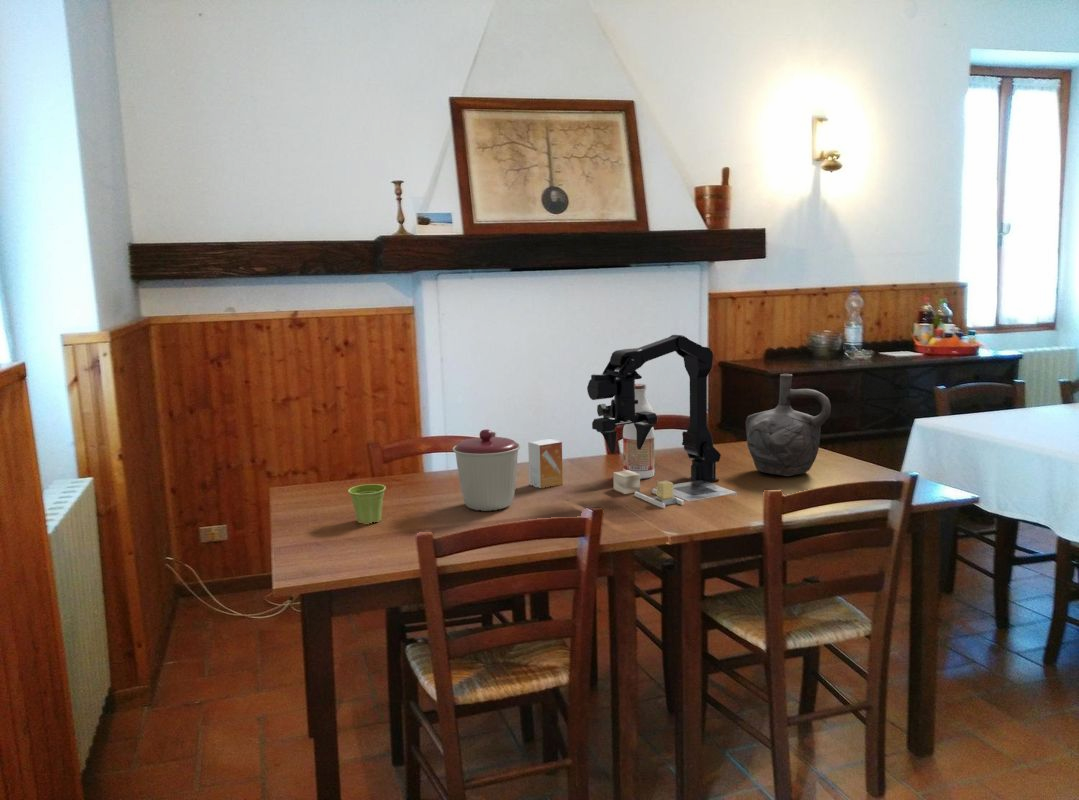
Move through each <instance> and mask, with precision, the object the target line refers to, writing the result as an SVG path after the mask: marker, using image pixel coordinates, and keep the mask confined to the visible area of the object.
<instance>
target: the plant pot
mask: <svg viewBox="0 0 1079 800" xmlns="http://www.w3.org/2000/svg"><path fill="white" fill-rule="evenodd" d="M386 489H387V487H386V486H385V485H384V484H378V483H369V484H360V485H355V486H352V487H350V488H349V489H348V490H347V491H348V492H347V493H349V494H350V498H351V500H352V501H351V502H352V505H353V510H354V513H355V517H356V518H355V519H356V522H357V521H358V522H357V523H359V522H361V523H371V524H373V523H372V522H374V523H375V522H377V521H380V520H381V521H382V516H383V515H382V513H383V504H384V503H383V501H384V495H385V491H386ZM381 521H380V522H381Z"/></svg>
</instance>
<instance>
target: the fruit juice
mask: <svg viewBox="0 0 1079 800" xmlns="http://www.w3.org/2000/svg"><path fill="white" fill-rule="evenodd" d="M646 390H647V384H645V383H635V400H638V404H635V413H637V412H643V411H647V412H652V413H654V409H653V407H652V406H651V403H650V402H649V400H648V397H647V393H646ZM628 421H630V420H628ZM622 447H623V448H622V453H623V454H622V456H623V459H622V461H623V463H622V465H623V469H622V471H626V470H630V471H632V472H635V473H637V474H640V480H643V479H650V478H652V477H654V476H655V428H654V427H652V428H651V430H650V431H649V433H648V435H647V437H646V439H645V441H644V443H643V445H642V448H641V449H640V450H639V449H637V431H636V428H635V425H634V423H632V424H625V425H624V426H623V429H622Z"/></svg>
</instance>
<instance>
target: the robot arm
mask: <svg viewBox="0 0 1079 800" xmlns="http://www.w3.org/2000/svg"><path fill="white" fill-rule="evenodd" d="M674 352H675V353H676V354H677V355H678V356H680V357H681V358H682V359H683V363H684V368H685V370H686V372H687V374H688V377H689V427H688V428H687V430H686V431H682V443H681V446H683V449H684V451H685V452H686V453H687V456H688V458H689V459H691V466H690V476H689V477H688V479H689V480H691V481H698V480H703V481H706V482H709V483H712V482H718V481H720V479H719V478H717V477H716V475H717V473H716V472H717V471H716V468H717V467H716V466H717V465H716V463H718V462H720V459H721V456H722V455H721V453H720V452H719V450H717V449H716V448H715V447H714V441H713V436H712V433H711V431H710V429H709V427H708V376H709V374H710V373H711V370H712V368H713V362H714V353H713V351H712V349H711V348H709V347H708V346H703V345H701V344H699V343H697V342H695V341H693V340H691V339H689V338H687V336H685V335H682V334H671V335H670V336H668V337H664V338H662V339H660V340H656V341H655V342H652V343H649V344H645V345H643V346H640V347H636V348H635V347H634V348H624V349H623V348H622V349H617V350H614V351H613V352H612V353H611V356H610V357H609V362H608V363H607V365H606V366H605V368H604V370H603V372H602V374H591V375H590V380H588V384H587V386H586V389H587V390H586V391H587V395H588V396H589V399H590V400H592V401H597V400H606V399H611V402H610V405H607V404H606V403H600V404H597V406H596V407H597V409H596V411H597V415H598V417H599V418H593V421H592V422H591V426H592V427H591V428H592V430H595V431H596V432H597V433H600V434H601V435H602V436H603V439H604V440H605V442H606V444H607V447H608V450H609V453H610V454H611V455H614V454H615V452H616V443H617V442H616V441H617V432H618V431H617V430H616V427H619V426H623V425H625V424H632V423H634V425H635V428H636V431H637V449H639V450H640V449H641V448H642V445H643V443H644V441H645V439H646V437H647V435H648V433H649V431H650V430H651V428H652V427H653V428H654V427H655V424H658V416H657V413H655V412H653V413H652V412H647V411H643V412H637V413H635V404H638V400H635V384H636V380H641V379H643V377H642V375H640V374H639V373H638V372H637V370H638V369H640V368H641V367H643V366H644V364H645V363H647V362H649V361H652V360H654V359H658V358H659V357H662V356H665V355H668V354H671V353H674ZM612 398H613V399H612ZM628 420H630V421H628Z"/></svg>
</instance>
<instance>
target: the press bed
mask: <svg viewBox="0 0 1079 800" xmlns="http://www.w3.org/2000/svg"><path fill="white" fill-rule="evenodd" d="M654 489H657V486H656V487H654ZM728 495H733V496H735V497H737V496H738V492H737V491H734V490H731V489H728V488H725V487H723V486H720V485H717V484H715V483H712V482H706V481H703V480H698V481H694V480H691V481H688V482H682V483H681V482H679V483H673V496H674V497H676V498H679V499H681V500H684V501H686V502H692V501H699V500H705V499H710V498H716V497H722V496H728Z"/></svg>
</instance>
